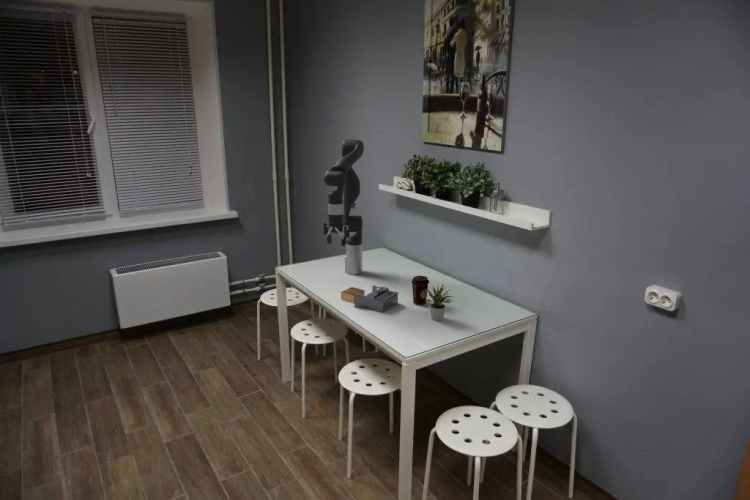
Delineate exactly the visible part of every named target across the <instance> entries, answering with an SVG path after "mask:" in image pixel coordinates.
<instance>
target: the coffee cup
mask: <svg viewBox="0 0 750 500" xmlns="http://www.w3.org/2000/svg"><path fill="white" fill-rule="evenodd" d="M411 284H412V303H413V304H414V305H416V306H423V305H426V304H427V301H426V299H428V292H427V290H428V289H429V284H430V280H429V279H428V276H425V275H416V276H413V277H412V279H411ZM426 289H427V290H426ZM424 290H425V291H424ZM428 291H429V290H428Z"/></svg>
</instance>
